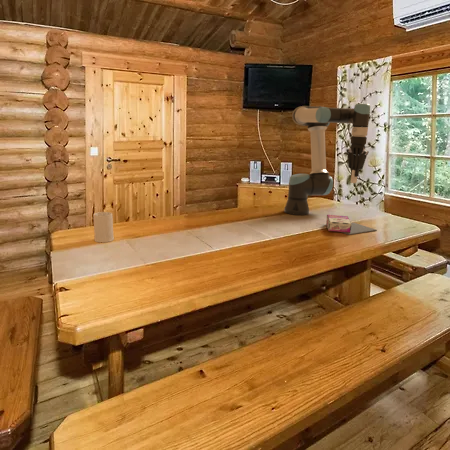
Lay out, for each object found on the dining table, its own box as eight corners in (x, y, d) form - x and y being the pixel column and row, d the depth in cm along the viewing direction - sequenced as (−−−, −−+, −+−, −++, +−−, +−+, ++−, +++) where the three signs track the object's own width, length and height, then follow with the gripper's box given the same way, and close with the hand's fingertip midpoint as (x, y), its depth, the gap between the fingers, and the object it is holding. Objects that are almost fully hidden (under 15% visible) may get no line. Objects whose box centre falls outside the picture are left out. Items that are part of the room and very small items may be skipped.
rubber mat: (326, 227, 210) (326, 226, 210) (353, 223, 220) (353, 222, 220) (348, 235, 197) (348, 233, 197) (376, 230, 206) (376, 229, 206)
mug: (92, 236, 183) (91, 210, 180) (111, 234, 186) (110, 209, 183) (95, 243, 172) (93, 216, 169) (115, 241, 176) (114, 215, 173)
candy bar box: (325, 223, 216) (327, 231, 201) (326, 214, 215) (328, 221, 199) (346, 225, 214) (350, 232, 199) (348, 216, 213) (351, 223, 198)
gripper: (344, 135, 201) (339, 181, 208) (363, 136, 190) (358, 185, 197) (354, 135, 205) (349, 180, 211) (374, 136, 194) (368, 184, 200)
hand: (353, 182), depth 204 cm, fingers closed
